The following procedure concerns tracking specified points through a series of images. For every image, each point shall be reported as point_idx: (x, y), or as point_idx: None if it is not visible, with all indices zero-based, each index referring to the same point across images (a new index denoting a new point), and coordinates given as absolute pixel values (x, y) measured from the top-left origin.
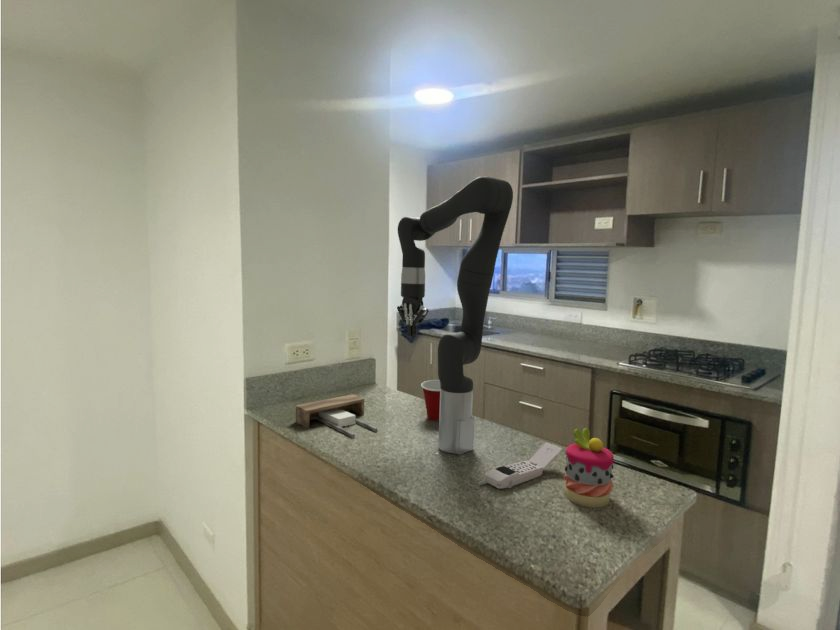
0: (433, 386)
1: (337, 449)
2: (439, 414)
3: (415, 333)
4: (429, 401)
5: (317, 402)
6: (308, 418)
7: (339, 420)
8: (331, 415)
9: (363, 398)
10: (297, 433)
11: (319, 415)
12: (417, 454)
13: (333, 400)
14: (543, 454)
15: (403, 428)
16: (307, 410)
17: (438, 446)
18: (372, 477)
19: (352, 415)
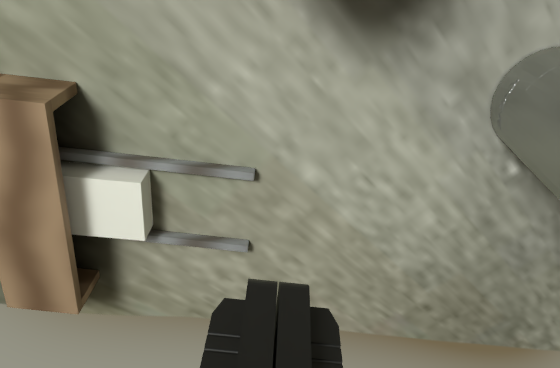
0: None
1: None
2: (551, 190)
3: (335, 343)
4: None
5: (7, 251)
6: (88, 291)
7: (145, 236)
8: (97, 234)
9: (39, 103)
10: (126, 308)
11: None
12: (468, 210)
13: (9, 203)
14: None
15: (297, 87)
16: (77, 311)
17: (498, 136)
18: (449, 341)
19: (135, 191)
